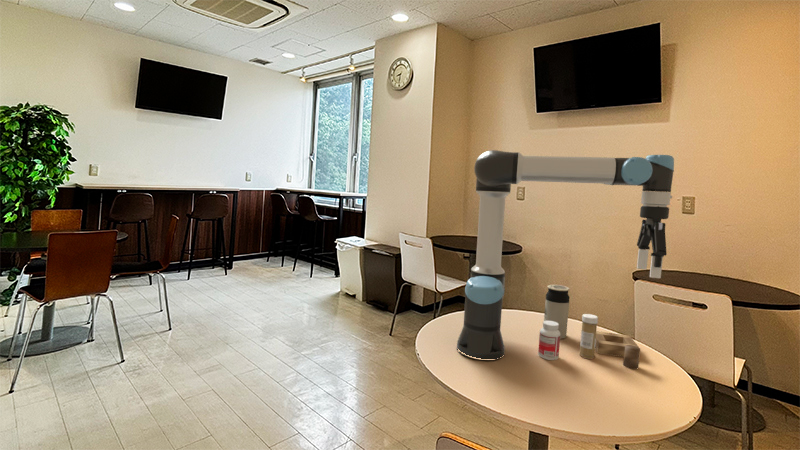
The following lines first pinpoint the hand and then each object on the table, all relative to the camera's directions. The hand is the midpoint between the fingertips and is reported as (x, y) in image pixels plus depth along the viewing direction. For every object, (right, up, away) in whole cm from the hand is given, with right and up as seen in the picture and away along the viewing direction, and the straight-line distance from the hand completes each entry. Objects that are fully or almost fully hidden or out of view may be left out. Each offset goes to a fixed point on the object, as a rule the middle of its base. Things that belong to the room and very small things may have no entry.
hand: (647, 273), depth 126 cm
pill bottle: (-31, -27, +2) cm, 41 cm away
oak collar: (-5, -27, +10) cm, 29 cm away
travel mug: (-21, -25, +21) cm, 39 cm away
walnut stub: (-7, -28, -3) cm, 29 cm away
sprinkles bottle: (-18, -27, +3) cm, 33 cm away
